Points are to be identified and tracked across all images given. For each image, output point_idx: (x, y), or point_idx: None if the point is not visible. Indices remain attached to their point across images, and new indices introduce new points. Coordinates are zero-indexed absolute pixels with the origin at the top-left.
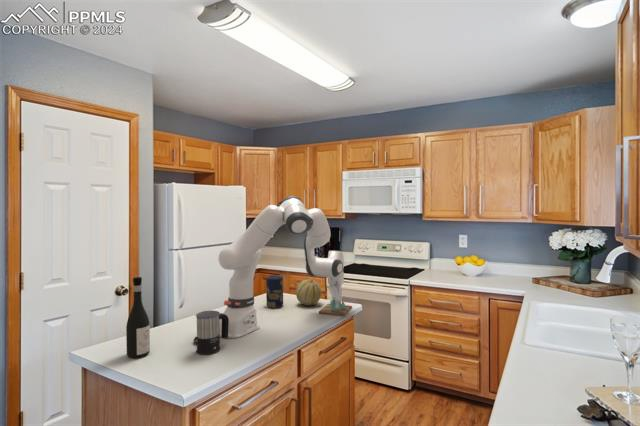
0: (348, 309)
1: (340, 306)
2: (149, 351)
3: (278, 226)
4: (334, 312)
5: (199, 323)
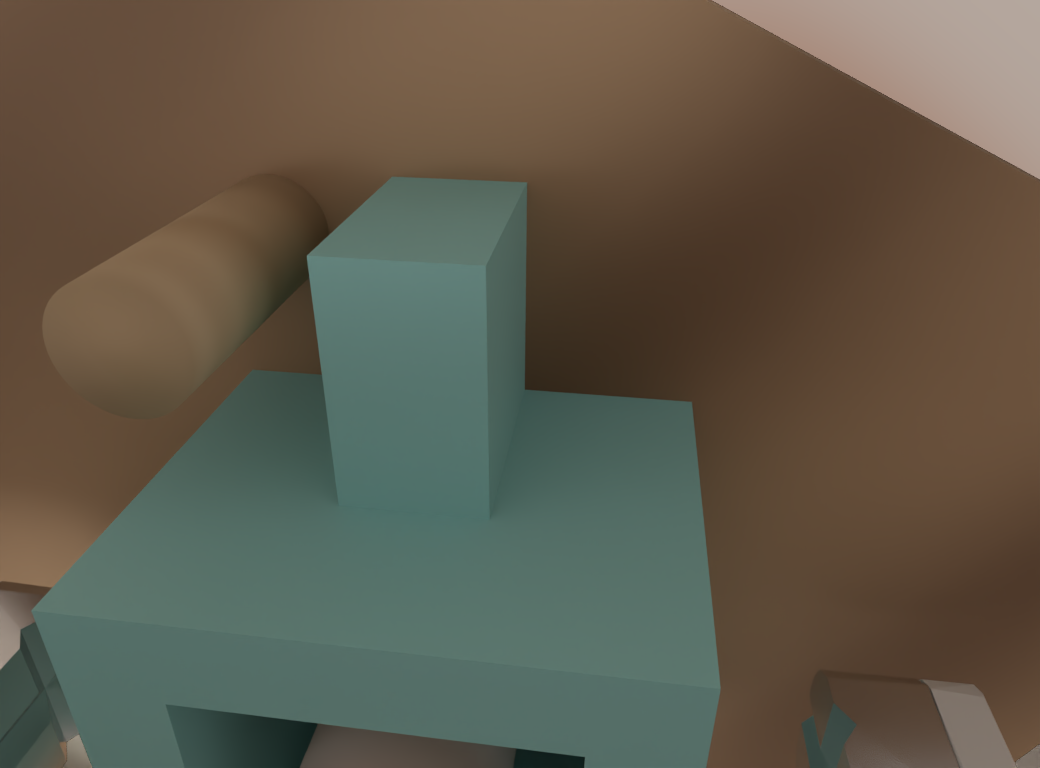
0: (717, 7)
1: (696, 528)
2: None
3: None
4: (1001, 704)
5: None
